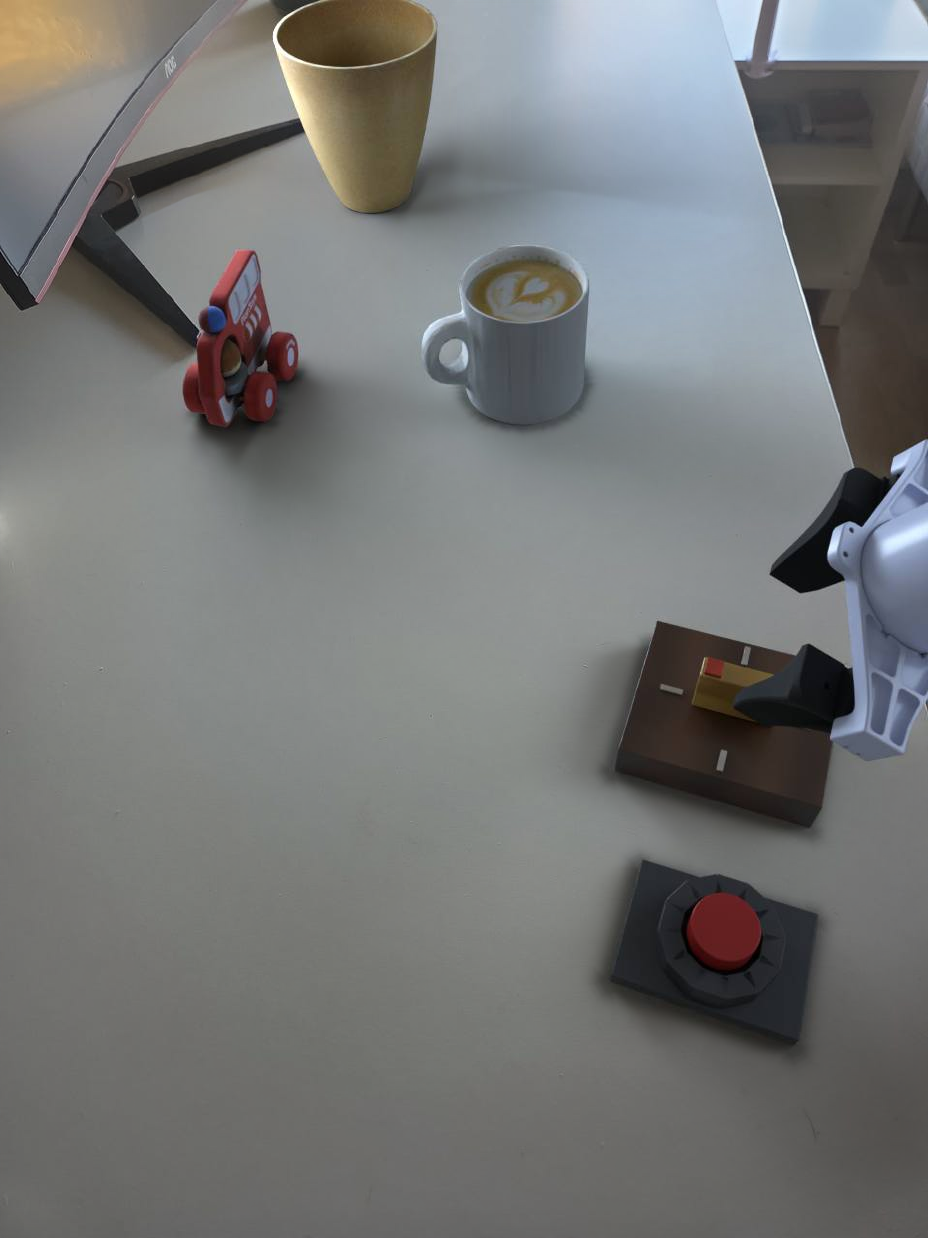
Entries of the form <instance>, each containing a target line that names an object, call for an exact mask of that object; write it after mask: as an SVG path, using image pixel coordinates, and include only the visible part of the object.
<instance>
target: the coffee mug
mask: <svg viewBox="0 0 928 1238" xmlns="http://www.w3.org/2000/svg"><path fill="white" fill-rule="evenodd" d="M459 299H460V305H461V311H460V312H457V313H454V314H450V315H446V316H444V317H441V318H439V319H437V320H434V322H432V323H431V324H430V325H429V326H428V327H427V328H426V330H425V332H424V334H423V336H422V340H421V347H420V349H421V357H422V361H423V364H424V368H425V370H426V372H427V373H428V375H429V377H431V379H433V380H434V381H435V382H437V383H439V384H441V385H442V384H443V385H448V386H449V385H450V386H451V385H453V386H463V387H465V389H466V394H467V398H468V399H469V401H470V403H471V404H472V405H473V407H475V409H477V411H479V412H480V413H481V414H483V415H484V416H486V417H488V418H490V419H492V420H494V421H498V422H501V423H503V424H509V425H510V424H511V425H518V426H519V425H520V426H526V425H528V426H529V425H538V424H542V423H546V422H550V421H552V420H555V419H557V418H559V417H561V416H563V415H564V414H566V413H567V412H569V411H570V410H571V409H573V407H575V405H576V404H577V403H578V401H579V400H580V398H581V397H582V394H583V390H584V381H585V380H584V379H585V365H586V347H587V332H588V317H589V316H588V315H589V303H590V302H589V299H590V279H589V274H588V272H587V270H586V268H585V267H584V266H583V264H582V263H581V262H580V261H579V260H578V259H577V258H575V257H573V255H571V254H568V253H567V252H565V251H562V250H560V249H557V248H554V247H551V246H550V247H549V246H545V245H539V244H515V245H514V244H513V245H509V246H504V247H499V248H497V249H494V250H491V251H488V252H486V253H484V254H483V255H481V256H479V257H477V258H475V260H474V261H472V262H471V263H470V264H469V265H468V266H467V267H466V268H465V270H464V272H463V274H462V275H461V278H460V281H459ZM456 339H457V340H459V341H461V342H462V347H461V352H460V353H459V355H458V357H457V358H456V359H455V360H454V361H453V362H450V363H443V362H441V360H440V353H441V350H442V347H444V345H445V344H446V343H448V342H450V341H451V340H456Z"/></svg>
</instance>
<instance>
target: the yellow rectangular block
mask: <svg viewBox="0 0 928 1238" xmlns="http://www.w3.org/2000/svg"><path fill="white" fill-rule="evenodd" d="M771 676H773V674H769V673H765V672H761V671H757V670H753V669H750V668H746V667H742V666H738V665H734V664H730V663H726V662H725V661H721V660H718V659H714V658H710V657H708V658H707V657H705V658H704V661H703V664H702V668H701V671H700V675H699V679H698V682H697V686H696V689H695V693H694V697H693V701H692V705H694V706H698V707H702V708H705V709H709V710H713V711H716V712H720V713H724V714H727V715H731V716H735V717H738V718H742V719H746V720H749V721H753V722H756V721H754V720H752V719H751V718H749V717H747V716H745V715H744V714H742V713H740V712H738V711H737V710H735V709H734V708H733V703H734V700H735V696H736V694H738V693H739V692H740V691H741V690H742V689H744V688H746V687H748V686H750V685H752V684H755V683H757V682H760V681H762V680H765V679H767V678H769V677H771ZM757 723H758V722H757ZM772 727H773V726H772Z"/></svg>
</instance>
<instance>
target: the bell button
mask: <svg viewBox="0 0 928 1238" xmlns="http://www.w3.org/2000/svg"><path fill="white" fill-rule="evenodd" d="M760 939H761V926H760V922H759V919H758V917H757V915H756V913H755V911H754V910H753V909H752V907H751V906H750V905H749V904H748V903H746V902H745V901H744V900H742V899H741V898H739V897H737V896H734V895H731V894H727V893H715V894H711V895H708V896H706V897H705V898H703V899H702V900H700V901H699V902H698V903H697V905H696V906H695V908H694V910H693V912H692V914H691V917H690V919H689V921H688V925H687V940H688V943H689V946H690V948H691V950H692V952H693V953H694V955H695V956H696V957H697V958H698V959H699V960H700V961H701V962H702V963H704V964H705V965H707V966H709V967H711V968H714V969H717V970H723V971H728V970H734V969H737V968H739V967H741V966H743V965H744V964H745V963H747V962H748V960H749V959H750V958H751V956H752V955H753V953H754V952H755V950H756V948H757V947H758V945H759V942H760Z"/></svg>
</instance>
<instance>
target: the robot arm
mask: <svg viewBox="0 0 928 1238" xmlns="http://www.w3.org/2000/svg"><path fill="white" fill-rule="evenodd" d="M890 474H891V476H890V477H889V478H888V477H886V476H882V477H880V478H879V477H878V476H876V475H875V474H873V473H872V472H870V471H868V470H867V469H865V468H863V467H858V466H856V467H852V468H850V469H849V470H847V471H845V472H844V473H843V475H842V476H841V479H840V480H839V483H838V485H837V487H836V488H835V490H834V492H833V494H832V495H831V496H830V499H829V501H828V502H827V503H826V505H825V506H824V508H823V509H822V511H821V512H820V513H819V515H818V516H817V517H816V518H815V519H814V521H813V522H812V523H811V524H810V525H809V526H808V527H807V528H806V530H804V532H803V533H801V534H800V536H799V537H798V538H797V539H796V540H795V541H794V542H792V544H791V545H790V546H788V547H787V548H786V549H785V550H784V551H783V552H782V553H781V554H780V555H779V557H777V558H776V560H774V562H773V563H772V565H771V567H770V571H769V574H768V575H769V576H771V577H772V578H774V579H776V580H777V581H779V583H780V582H781V584H783V585H785V586H787V587H788V588H790V589H792V591H793V590H794V591H795V592H797V593H798V594H806V593H812V592H816V591H820V590H823V589H826V588H828V587H831V586H834V585H836V584H839V583H842V582H844V585H845V595H846V597H845V598H846V607H847V608H846V609H847V618H848V619H847V620H848V631H849V641H850V655H851V664H852V667H848V666H845V664H844V663H843V662H842V661H839V660H838V659H836V658H835V657H833V656H832V655H829V654H828V653H826V652H825V651H823V650H822V649H819V648H817V647H816V646H815V645H813V644H811V643H805V644H803V645H801V646H800V649H799V650H798V652H797V653H796V654H795V655H796V656H795V658H794V659H793V660H792V661H791V662H790V663H789V664H788V665H787V666H785V667H784V668H783V669H782V670H781V671H779V672H778V673H776V674H774V675H773V676H771V677H769V678H767V679H765V680H762V681H760V682H757V683H755V684H752V685H750V686H748V687H746V688H744V689H742V690H741V691H740V692H739V693H738V694H736V696H735V700H734V703H733V708H734V709H735V710H737V711H738V712H740V713H742V714H744V715H745V716H747V717H749V718H751V719H752V720H754V721H756V722H758V723H759V724H761V725H763V726H789V727H799V728H806V729H812V730H817V731H822V732H826V733H829V734H831V735H830V740H831V741H832V742H833V744H835V745H838V746H839V747H841V748H842V749H844V750H846V751H847V752H849V753H850V754H853V755H854V756H857V757H859V758H860V759H862V760H864V761H865V762H873V761H878V760H882V759H887V758H893V757H898V756H903V755H905V752H906V747H907V744H908V741H909V736H910V734H911V730H912V728H913V726H914V723H915V722H916V720H917V718H918V716H919V714H920V713H921V712H922V709H923V708H924V706H925V705H926V703H927V701H928V439H927V438H925V439H924V440H922V441H920V442H919V443H917V444H915V445H913V446H911V447H909V448H907V449H905V450H904V451H902V452H900V453H898V454H897V455H895V456H893V459H892V463H891V467H890Z"/></svg>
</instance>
